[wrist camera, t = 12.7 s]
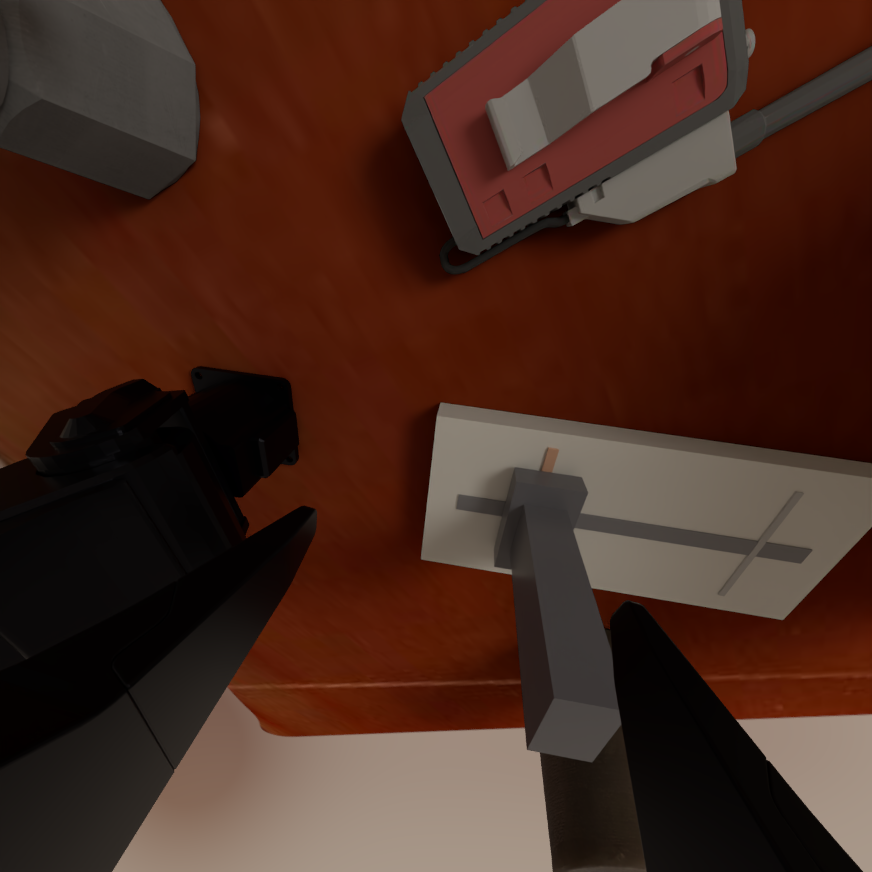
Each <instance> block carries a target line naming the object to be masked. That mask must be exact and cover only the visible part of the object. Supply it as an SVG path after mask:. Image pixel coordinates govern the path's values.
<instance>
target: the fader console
mask: <svg viewBox="0 0 872 872" xmlns="http://www.w3.org/2000/svg"><path fill="white" fill-rule="evenodd" d="M514 467H518V468H524V469H531V470H538V471H544V472H551V473H558V474H564V475H571V476H578V477H582V479H583V481H584V484H585V486H586V488H587V491H588V495H587V497H586V500H585V503H584V505H583V508H582V510H581V513H580V515H579V518H578V520H577V523H576V525H575V528H574V530H573V531H574V534H575V537H576V541H577V544H578V547H579V550H580V553H581V556H582V560H583V563H584V566H585V569H586V572H587V575H588V579H589V582H590V585H591V588H595V589H601V590H607V591H613V592H619V593H625V594H631V595H637V596H643V597H649V598H654V599H660V600H666V601H672V602H678V603H684V604H690V605H696V606H702V607H708V608H714V609H720V610H726V611H732V612H738V613H744V614H750V615H756V616H762V617H768V618H774V619H780V620H784V618H785V617H786V616H787V615H788V614H789V613H790V612H791V611H792V610H793V609H794V608H795V607H796V606H797V605H798V604H799V603H800V602H801V601H802V600H803V599H804V597H805V596H806V595H807V594H808V593H809V592H810V591H811V590H812V589H813V588H814V587H815V586H816V585H817V584H818V583H819V582H820V581H821V580H822V579H823V578H824V577H825V575H826V574H827V573H828V572H829V571H830V570H831V569H832V568H833V567H834V566H835V565H836V564H837V563H838V562H839V561H840V560H841V559H842V558H843V557H844V556H845V555H846V553H847V552H848V551H849V550H850V549H851V548H852V547H853V546H854V545H855V544H856V543H857V542H858V541H859V540H860V539H861V538H862V537H863V536H864V535H865V534H866V532H867V531H868V530H869V529H870V528H871V527H872V463H866V462H859V461H852V460H845V459H838V458H831V457H824V456H817V455H810V454H802V453H795V452H788V451H781V450H774V449H767V448H760V447H753V446H746V445H739V444H732V443H724V442H717V441H710V440H703V439H696V438H689V437H682V436H675V435H668V434H661V433H654V432H646V431H639V430H632V429H625V428H618V427H611V426H604V425H597V424H590V423H583V422H576V421H568V420H561V419H554V418H547V417H540V416H533V415H526V414H519V413H512V412H505V411H497V410H490V409H483V408H476V407H469V406H462V405H455V404H448V403H440V406H439V410H438V414H437V419H436V428H435V437H434V446H433V455H432V464H431V473H430V482H429V491H428V499H427V508H426V517H425V526H424V535H423V544H422V553H421V559H422V560H428V561H434V562H440V563H446V564H452V565H458V566H464V567H469V568H475V569H481V570H487V571H493V572H499V573H505V574H511V575H512V570H510V569H504V568H498V567H494V546H495V542H496V538H497V534H498V530H499V526H500V522H501V519H502V515H503V511H504V507H505V503H506V499H507V495H508V491H509V487H510V483H511V479H512V475H513V471H514Z"/></svg>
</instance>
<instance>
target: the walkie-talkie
mask: <svg viewBox="0 0 872 872" xmlns="http://www.w3.org/2000/svg"><path fill="white" fill-rule="evenodd" d="M754 47H755V35H754V33H753V31H752V30H751V29H746V30H745V25H744V16H743V8H742V0H525V2H524V3H523V4H522V5H520V6H519V7H518V8H517V7H516V6H515V7H513V8H512V9H511V13H510V14H509V15H508V16H507V17H505V18H504V19H502V18H500V19H498V20H497V25H495V26H494V27H493V28H492V29H490V30H489V31H488V30H487V29H486V30H485V31H484V32H483V36H482V37H480V38H479V39H478V40H477V41H473V40H472V41H471V42H470V43H469V47H468V48H467V49H465V50H464V51H463V52H460V51H459V52H457V53H456V57H455V58H454V59H453V60H452V61H450V62H449V63H448V62H447V61H446V62H445V63H444V64H443V68H442V69H440V70H439V71H438V72H437V73H435V72H432V73H431V77H430V78H429V79H428V80H427V81H425V82H424V83H423V82H422V81H421V82H420V83H419V84H418V88H417V89H415V90H414V91H413V92H412V93H411V92H410V91H409V92H408V95H407V99H406V103H405V107H404V111H403V115H402V119H401V120H402V123H403V125H404V128H405V130H406V132H407V135H408V137H409V139H410V141H411V144H412V146H413V148H414V150H415V152H416V155H417V157H418V159H419V161H420V164H421V166H422V168H423V170H424V173H425V175H426V177H427V179H428V182H429V184H430V186H431V188H432V190H433V193H434V195H435V197H436V199H437V202H438V204H439V206H440V208H441V211H442V213H443V215H444V217H445V220H446V222H447V224H448V226H449V229H450V231H451V233H452V235H453V237H452V238H451V239H449V240H448V241H447V242H446V243H445V244H444V246H443V247H442V248H441V252H440V255H439V256H440V260H441V265H442V268H443V269H444V270H445V271H446V272H447V273H450V274H461V273H465V272H467V271H469V270H470V269H472V268H474V267H476V266H477V265H479V264H481V263H483V262H484V261H486V260H488V259H490V258H491V257H493V256H495V255H496V254H498V253H500V252H502V251H503V250H505V249H507V248H509V247H510V246H512V245H514V244H516V243H517V242H519V241H521V240H523V239H524V238H526V237H528V236H530V235H532V234H534V233H536V232H538V231H539V230H541V229H543V228H548V227H551V228H556V227H560V226H563V225H565V224H566V226H567V227H570V226H573V225H575V224H577V223H579V222H580V221H582V220H584V219H589V220H595V221H601V222H607V223H613V224H620V225H621V224H628V223H634V222H636V221H638V220H640V219H642V218H643V217H645V216H647V215H649V214H651V213H653V212H655V211H657V210H659V209H661V208H662V207H664V206H666V205H668V204H670V203H672V202H674V201H676V200H678V199H680V198H681V197H683V196H685V195H687V194H689V193H691V192H693V191H695V190H697V189H698V188H702V187H705V186H709V185H713V184H716V183H718V182H720V181H721V180H723V179H725V178H727V177H729V176H730V175H732V174H734V173H735V172H736V169H737V168H736V160H735V158H737V157H739V156H740V155H742V154H744V153H746V152H747V151H749V150H751V149H753V148H755V147H756V146H758V145H759V144H760V143H761V141H762V140H763V139H764V138H766V137H768V136H770V135H772V134H773V133H775V132H777V131H779V130H781V129H783V128H784V127H786V126H788V125H790V124H792V123H794V122H795V121H797V120H799V119H801V118H803V117H805V116H806V115H808V114H810V113H812V112H814V111H816V110H817V109H819V108H821V107H823V106H825V105H827V104H828V103H830V102H832V101H834V100H836V99H838V98H839V97H841V96H843V95H845V94H847V93H849V92H850V91H852V90H854V89H856V88H858V87H860V86H861V85H863V84H865V83H867V82H869V81H871V80H872V46H871V47H869V48H868V49H866V50H864V51H862V52H860V53H859V54H857V55H855V56H853V57H852V58H850V59H848V60H846V61H845V62H843V63H841V64H839V65H838V66H836V67H834V68H832V69H831V70H829V71H827V72H825V73H824V74H822V75H820V76H818V77H817V78H815V79H813V80H811V81H810V82H808V83H806V84H804V85H802V86H801V87H799V88H797V89H795V90H794V91H792V92H790V93H788V94H787V95H785V96H783V97H781V98H780V99H778V100H776V101H774V102H773V103H771V104H769V105H767V106H766V107H764V108H762V109H760V110H759V111H757V110H754V109H753V110H751V111H750V112H748V113H746V114H744V115H743V116H741V117H739V118H737V119H736V120H734V121H732V122H730V116H729V111H728V110H729V109H731V108H733V107H734V106H735V104H736V103H737V101H738V100H739V98H740V97H741V95H742V94H743V93H744V91H745V90H746V83H747V74H748V63H749V60H748V58H749V57H750V56H751V54H752V53H753V50H754ZM565 204H567V206H568V209H569V210H568V211H566V212H564V213H563V216H561V217H559V218H546V219H543V220H541V221H538V222H537V219H538V220H539V219H541V218H543V217H546V216H547V215H549V213H551V212H553V211H555V210H557V209H559V208H561V207H562V206H563V205H565ZM535 222H536V223H535ZM526 225H527V226H528V227H526V228H525V226H526ZM529 225H530V226H529ZM515 231H517V232H518V233H516V234H514V235H513V233H514V232H515ZM505 237H506V238H508V239H506V240H504V241H502V239H503V238H505ZM495 243H496V244H497V245H496V246H494V247H492V248H491V245H493V244H495ZM456 245H457V246H458V248H459V250H462V251H465V252H469V253H472V254H475V255H478V256H477V257H475V258H473V259H472V260H470V261H468V262H466V263H464V264H462V265H459V266H453V265H451V264H450V263H449V259H448V253H449V251H450V250H451V249H452V248H453V247H454V246H456ZM485 249H487V251H485V252H484V253H482V254H480V252H481V251H483V250H485Z"/></svg>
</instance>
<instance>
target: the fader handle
mask: <svg viewBox="0 0 872 872" xmlns="http://www.w3.org/2000/svg"><path fill="white" fill-rule="evenodd" d="M587 495H588V491H587V488H586V486H585V484H584V481H583V479H582V477H578V476H571V475H564V474H558V473H551V472H544V471H538V470H531V469H524V468H518V467H514V471H513V475H512V479H511V483H510V487H509V491H508V495H507V499H506V503H505V507H504V511H503V515H502V519H501V522H500V526H499V530H498V534H497V538H496V542H495V546H494V567H498V568H504V569H510V570H512V581H513V592H514V604H515V616H516V627H517V639H518V651H519V662H520V674H521V686H522V697H523V709H524V721H525V732H526V743H527V750H531V751H536V752H541V753H546V754H551V755H556V756H561V757H567V758H572V759H577V760H582V761H587V762H593V761H594V759H595V758H596V757H597V755H598V754H599V753H600V752H601V750H602V749H603V748H604V746H605V745H606V744H607V742H608V741H609V740H610V739H611V737H612V736H613V735H614V733H615V732H616V731H617V729H618V728H619V727H620V726H621V719H620V714H619V708H618V702H617V696H616V690H615V683H614V674H613V660H612V652H611V648H610V645H609V642H608V639H607V636H606V633H605V629H604V626H603V623H602V620H601V617H600V614H599V610H598V607H597V604H596V601H595V598H594V594H593V591H592V588H591V585H590V582H589V579H588V575H587V572H586V569H585V566H584V563H583V560H582V556H581V553H580V550H579V547H578V544H577V541H576V537H575V534H574V531H573V530H574V528H575V525H576V523H577V520H578V518H579V515H580V513H581V510H582V508H583V505H584V503H585V500H586V497H587Z"/></svg>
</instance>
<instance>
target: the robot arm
mask: <svg viewBox="0 0 872 872" xmlns="http://www.w3.org/2000/svg"><path fill="white" fill-rule="evenodd" d="M199 373H201V375H202V376H200V374H199ZM191 376H192V380H193V384H194V388H195V392H196V393H194V394H192V395H190V396H187V394H186V392H185V390H177V391H161V389H160V388H157V387H155V386H154V385H152V384H151V383H149V382H147V381H146V380H144V379H136V380H131V381H128V382H126V383H123V384H120V385H118V386H115V387H113V388H110V389H108V390H105V391H103V392H101V393H99V394H97V395H95V396H94V397H92V398H90V399H86V400H83V401H81V402H80V403H79V404H78V405H77V406H75V407H72V408H69V409H65V410H62V411H59V412H57V413H54V414H53V415H52V416H51V417H50V419H49V420H48V422H47V423H46V424H45V426H44V427H43V429H42V430H41V432H40V433H39V434H38V436H37V437H36V439H35V440H34V441H33V443H32V444H31V446H30V447H29V448H28V450H27V451H26V456H27V457H28V458H26V459H24V460H21V461H19V462H16V463H13V464H11V465H8V466H6V467H3V468H1V469H0V872H112V871H113V869H114V868H115V866H116V865H117V863H118V861H119V860H120V858H121V856H122V855H123V853H124V852H125V850H126V848H127V847H128V845H129V843H130V842H131V840H132V839H133V837H134V835H135V834H136V832H137V831H138V829H139V827H140V826H141V824H142V823H143V821H144V819H145V818H146V816H147V815H148V813H149V812H150V810H151V808H152V807H153V805H154V804H155V802H156V800H157V799H158V797H159V795H160V794H161V792H162V791H163V789H164V787H165V786H166V784H167V783H168V781H169V779H170V778H171V776H172V775H173V773H174V769H176V768H177V766H178V765H179V763H180V761H181V760H182V758H183V757H184V755H185V753H186V752H187V750H188V749H189V747H190V745H191V744H192V742H193V740H194V739H195V737H196V736H197V734H198V732H199V731H200V729H201V728H202V726H203V724H204V723H205V721H206V720H207V718H208V716H209V715H210V713H211V712H212V710H213V708H214V707H215V705H216V704H217V702H218V701H219V699H220V697H221V696H222V694H223V693H224V691H225V689H226V688H227V686H228V685H229V683H230V681H231V680H232V678H233V676H234V675H235V673H236V672H237V670H238V668H239V667H240V665H241V664H242V662H243V660H244V659H245V657H246V656H247V654H248V652H249V651H250V649H251V648H252V646H253V644H254V643H255V641H256V640H257V638H258V636H259V635H260V633H261V632H262V630H263V628H264V627H265V625H266V624H267V622H268V620H269V619H270V617H271V616H272V614H273V612H274V611H275V609H276V608H277V606H278V604H279V603H280V601H281V600H282V598H283V596H284V595H285V593H286V591H287V590H288V588H289V586H290V584H291V582H292V581H293V579H294V577H295V574H296V572H297V570H298V568H299V566H300V564H301V562H302V560H303V558H304V556H305V554H306V552H307V550H308V548H309V545H310V543H311V541H312V539H313V537H314V535H315V532H316V522H317V511H316V509H314V508H311V507H307V506H301V507H299V508H297V509H295V510H294V511H292V512H290V513H289V514H287V515H285V516H284V517H282V518H280V519H279V520H277V521H275V522H274V523H272V524H270V525H268V526H267V527H265V528H263V529H262V530H260V531H258V532H257V533H255V534H253V535H252V536H250V537H248V538H247V539H246V536H245V535H246V532H247V530H248V527H249V522H248V520H247V518H246V517H245V516H243V514H242V512H241V510H240V508H239V506H238V504H237V502H236V500H235V498H234V497H243V496H244V495H245V494H246V493H247V492H248V491H249V490H250V489H251V488H252V487H253V486H254V485H255V484H256V483H257V482H258V481H259V480H260V479H261V478H267V477H269V476H270V475H271V474H272V473H273V472H274V471H275V470H276V468H277V467H278V466H279V465H280V464H286V465H294V464H295V463H296V462H297V461H298V459H299V455H298V445H299V437H298V428H297V419H296V413H295V411H294V410H293V401H292V392H291V385H290V383H289V381H288V380H286V379H285V378H280V377H273V376H266V375H259V374H252V373H245V372H238V371H230V370H223V369H216V368H209V367H202V366H199V367H196V368H194V369H192V371H191ZM280 384H282V385H283V386H284V389H283V388H281V387H280ZM289 457H291V458H292V459H290V458H289ZM610 631H611V646H612V660H613V674H614V683H615V690H616V696H617V702H618V708H619V714H620V719H621V725H622V731H623V737H624V743H625V749H626V755H627V761H628V766H629V772H630V778H631V784H632V790H633V796H634V802H635V808H636V813H637V819H638V825H639V831H640V837H641V843H642V849H643V855H644V860H645V866H646V872H863V871H862V870H861V869H860V868H859V867H858V865H857V864H856V863H855V862H854V861H853V860H852V859H851V857H850V856H849V855H848V854H847V853H846V852H845V851H844V850H843V848H842V847H841V846H840V845H839V844H838V843H837V841H836V840H835V839H834V838H833V837H832V836H831V834H830V833H829V832H828V831H827V830H826V829H825V828H824V826H823V825H822V824H821V823H820V822H819V821H818V819H817V818H816V817H815V816H814V815H813V814H812V813H811V811H810V810H809V809H808V808H807V806H806V805H805V804H804V803H803V802H802V800H801V799H800V798H799V797H798V796H797V794H796V793H795V792H794V791H793V790H792V788H791V787H790V786H789V785H788V784H787V782H786V781H785V780H784V779H783V777H782V776H781V775H780V774H779V773H778V771H777V770H776V769H775V767H774V766H773V765H772V764H771V763H770V761H768V760H766V757H765V755H764V754H763V753H762V752H761V750H760V749H759V748H758V747H757V745H756V744H755V743H754V742H753V740H752V739H751V738H750V737H749V735H748V734H747V733H746V732H745V731H744V729H743V728H742V727H741V726H740V724H739V723H738V722H737V721H736V719H735V718H734V717H733V716H732V714H731V713H730V712H729V711H728V710H727V708H726V707H725V706H724V705H723V703H722V702H721V701H720V700H719V698H718V697H717V696H716V695H715V693H714V692H713V691H712V690H711V688H710V687H709V686H708V685H707V684H706V682H705V681H704V680H703V679H702V677H701V676H700V675H699V674H698V672H697V671H696V670H695V669H694V667H693V666H692V665H691V664H690V663H689V661H688V660H687V659H686V658H685V656H684V655H683V654H682V653H681V651H680V650H679V649H678V648H677V646H676V645H675V644H674V643H673V641H672V640H671V639H670V638H669V637H668V635H667V634H666V633H665V632H664V630H663V629H662V628H661V627H660V625H659V624H658V623H657V622H656V620H655V619H654V618H653V617H652V616H651V614H650V613H649V612H648V611H647V609H646V608H645V607H644V606H643V605H641V604H639V603H636V602H632V601H628V600H627V601H625V602H623V603H622V605H621V606H620V607H619V608H618V609H617V610H616V611H615V612H614V614H613V615H612V617H611V620H610Z"/></svg>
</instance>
